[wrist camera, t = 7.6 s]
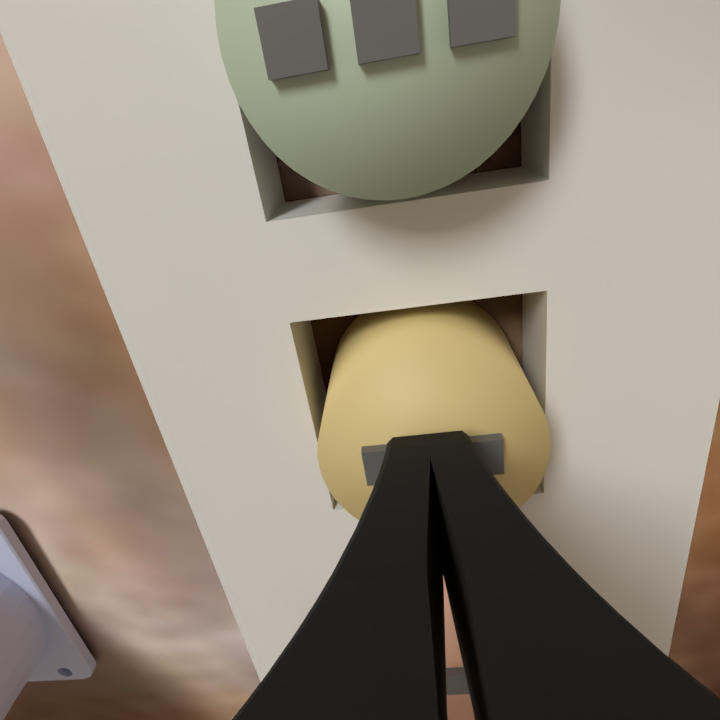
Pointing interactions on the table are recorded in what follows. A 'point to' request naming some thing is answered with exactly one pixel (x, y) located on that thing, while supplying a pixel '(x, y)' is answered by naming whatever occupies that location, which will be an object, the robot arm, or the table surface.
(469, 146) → the button three
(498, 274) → the panel
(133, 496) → the table surface
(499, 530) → the robot arm
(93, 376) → the table surface
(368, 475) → the button two
